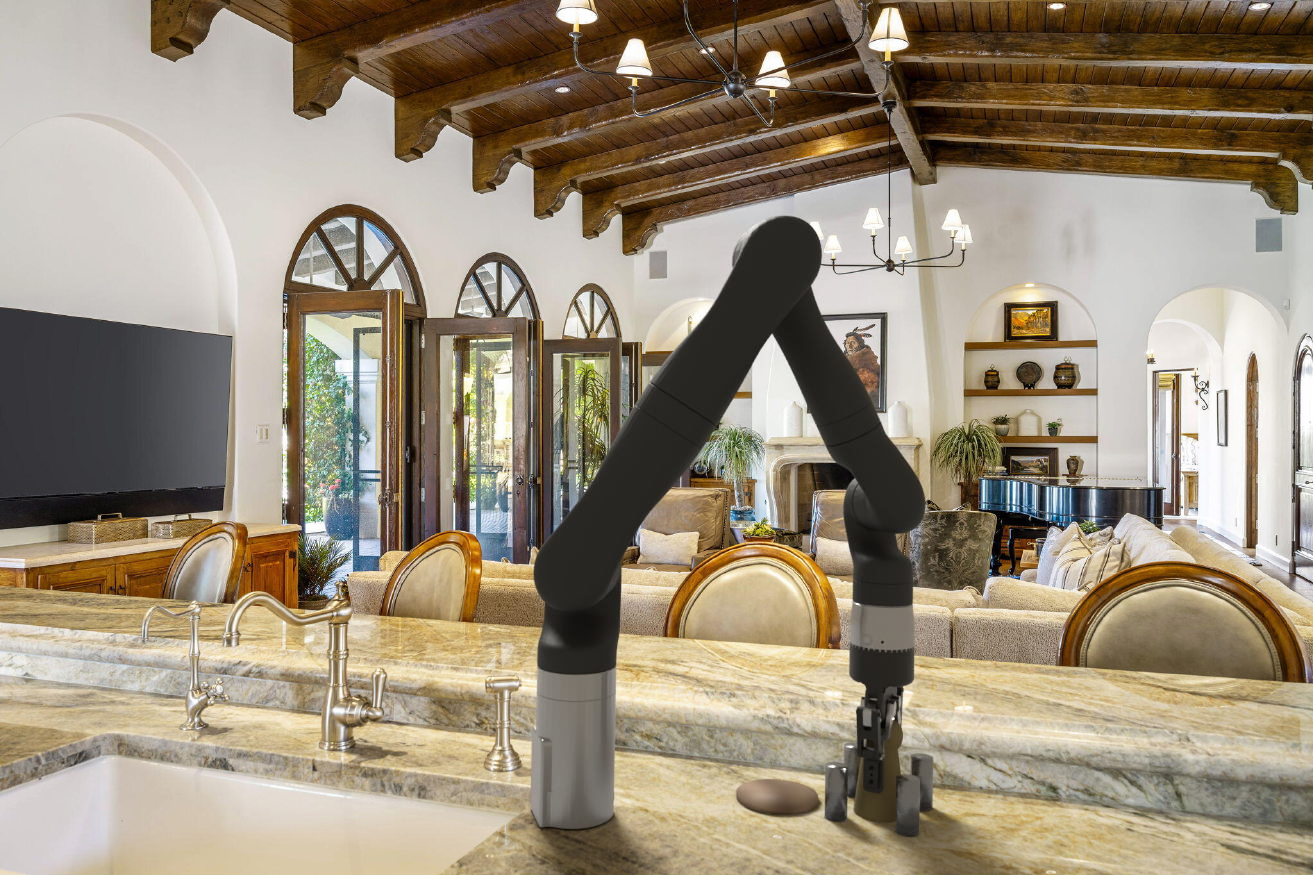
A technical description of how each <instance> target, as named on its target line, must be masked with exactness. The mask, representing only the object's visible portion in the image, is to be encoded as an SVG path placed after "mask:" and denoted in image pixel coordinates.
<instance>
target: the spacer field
mask: <svg viewBox="0 0 1313 875" xmlns="http://www.w3.org/2000/svg"><path fill="white" fill-rule="evenodd" d="M860 761H861V757H858V755H857V742H845V743H844V746H843V762H841V761H829V762H826V763H825V766H824V768H825V769H824V773H825V775H824V819H827V820H828V821H830V822H835V823H841V822H846V821H847V820H848V806H849V805H848V800H849V799H848V798H853V799H855V795H856V788H857V782H858V775H859V768H860ZM933 791H934V757H933V756H932V755H929V754H926V753H919V752H917V753H912V754H911V755H910V774H907V773H901V775H897V776H896V822H895V826H894V828H895V832H896V834H897V835H900V836H903V837H909V838H912V837H918V836H919V835H920V820H921V819H920V816H921V815H920V814H921V813H920V812H930V811H932V810H933V809H934V808H933V806H934V804H933V802H934V801H933V800H934V796H933V794H934V792H933Z"/></svg>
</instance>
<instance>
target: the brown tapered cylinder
mask: <svg viewBox="0 0 1313 875" xmlns="http://www.w3.org/2000/svg"><path fill="white" fill-rule="evenodd" d="M884 730H885V728H883V729H881V732H883V731H884ZM903 740H904V731H903V727H901V726H900V724H899V723H898V722H896V721H895V720H893V722H892V732H891V739H890V740H889V741H887V742H886V747H885V759H884V789H883V791H882V792H881V793H873V792H868V791H865V790H864V788H863V765H864V758H862V757H861V761H860V768H859V775H858V782H857V788H856V795H855V798H854V804H853V809H852V810H853V813H854V814H855V815H857V816H858V817H860V818H862V819H864V820H867V821H871V822H876V823H882V824H883V823H884V824H885V823H888V824H889V823H896V776H897V775H901V774H902V773H901V770H902V769H901V764H900V755H899V754H900V753H899V749H900V748H901V746H902V744H903ZM868 747H869V748H874V741H872V740H869V746H868Z"/></svg>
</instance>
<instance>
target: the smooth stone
mask: <svg viewBox="0 0 1313 875" xmlns="http://www.w3.org/2000/svg"><path fill="white" fill-rule="evenodd" d="M735 797H736V801H737V802H738V803H740V805H742V806H743V807H744V808H747V809H749V810H751V811H754V812H757V813H761V814H766V815H767V814H768V815H777V816H793V815H795V816H796V815H800V814H805V813H808V812H811V811H813V810H814V809H816V808H817V806H818V805H819V794H818V792H817V791H816V790H815V789H813V788H811V787H810V786H808V785H806V784H803V783H801V782H797V781H793V780H788V779H777V778H762V779H754V780H750V781H746V782H744V783H741V784H740V785H739V786H738V787H737V788H736V790H735Z"/></svg>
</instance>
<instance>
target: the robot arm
mask: <svg viewBox="0 0 1313 875" xmlns="http://www.w3.org/2000/svg"><path fill="white" fill-rule="evenodd" d="M822 248H823V247H822V243H821V240H820V238H819V235H818V233H817V232H816V230H815V228H814V227H813V226H812V225H811V224H810V223H809V222H808V221H806V220H804V219H802V218H800V217H796V216H793V215H777V216H771V217H768V218H765V219H763V220H761V221H759V222H757V223H756V224H754V225H752V227H750V228H749V229H747V230H746V231H745V232H744V233H743V234H742V235H741V236H740V238H739V239H738V240H737V241H736V244H735V246H734V249H733V252H732V256H731V266H732V269H731V271H730V273H729V275H728V277H727V279H726V280H725V281H724V282H725V283H724V284H723V286H722V288H721V289H720V291H719V293H718V294H717V297H716V298H715V300H714V302H713V303H712V305H711V307H709V309H708V311H707V312H706V313H705V315H704V316H703V317H702V319H701V320H700V321H699V322H698V323H697V324H696V325H695V327H694V328H692V330H691V331H690V332H689V333H688V334H687V335H686V336H685V337H684V338H683V339H682V341H681V342H680V343H679V344H678V345H677V346H676V347H675V349H674V350H673V351H672V352H671V354H670V355H669V356H668V357H667V358H666V359H665V361H664V362H663V363H662V364H661V366H660V367H659V369H658V370H657V371H656V372H655V374H654V375H653V376H652V378H651V379H650V381H649V383H648V384H647V385H646V387H645V388H644V390H643V392H642V393H641V395H640V396H639V398H638V399H637V401H636V403H635V404H634V406H633V407H632V409H631V410H630V413H629V414H628V416H627V417H626V419H625V421H624V423H623V424H622V426H621V428H620V429H619V431H618V433H617V434H616V437H615V438H614V440H613V442H612V444H611V445H610V447H609V449H608V451H607V453H606V454H605V456H604V459H603V460H602V462H601V465H600V466H599V469H598V471H597V472H596V474H595V476H594V477H593V479H592V481H591V482H590V484H589V485H588V486H587V488H586V490H585V492H584V493H583V494H582V495H581V497H580V498H579V500H578V501H577V502H576V503H575V505H573V507H572V509H571V510H570V511H569V513H568V514H567V515H566V516H565V518H564V519H563V520H562V521H561V522H560V524H559V525H557V527H556V529H555V530H553V532H552V533H551V535H550V536H549V537H548V538H547V539H546V540H545V541H544V543H543V544H542V545H541V547H540V548H539V550H538V552H537V553H536V556H535V560H534V563H533V564H534V565H533V582H534V586H535V589H536V592H537V593H538V595H539V597H540V599H541V600H542V601H543V602H544V612H543V613H544V615H543V622H542V629H541V632H540V636H539V638H538V643H537V651H536V652H537V653H536V654H537V656H536V664H537V666H536V671H537V672H536V708H535V711H536V712H535V714H536V715H535V725H534V726H533V727H532V729H531V753H530V754H531V757H530V759H531V760H530V762H531V763H530V766H531V767H530V772H531V773H530V802H529V803H530V809H531V811H532V814H533V816H534V818H535V820H536V823H537V824H538V827H540V828H546V827H549V828H550V827H551V828H557V829H565V830H566V829H567V830H579V829H580V830H581V829H587V828H593V827H596V826H601V825H602V824H604V823H606V822H608V821H610V819H612V817H613V816H614V806H615V805H614V804H615V802H614V801H615V765H616V764H615V761H616V760H615V757H616V756H615V753H616V752H615V751H616V750H615V749H616V709H617V708H616V705H617V704H616V703H617V701H616V700H617V698H616V697H617V696H616V695H617V654H618V645H619V640H620V631H621V612H622V610H621V608H622V604H621V603H622V583H623V582H622V579H623V578H622V573H623V571H622V569H623V568H622V560H623V558H624V555H625V554H626V552H627V550H628V548H629V546H630V545H631V543H632V541H633V539H634V538H635V536H636V533H637V532H638V531H639V529H640V527H641V526H642V524H643V522H644V521H645V520H646V519H647V517H648V516H649V514H650V513H651V512H652V511H653V509H654V508H655V507H656V506H657V505H658V504H659V503H660V502H661V501H662V500H663V498H664V497H665V496H666V495H667V493H668V492H670V490H671V489H673V487H674V486H675V485H676V483H678V481H679V480H680V479H681V478H682V477H683V475H684V474H685V473H686V472H687V471H688V469H689V468H690V467H691V465H692V464H693V462H694V460H695V459H697V457H698V456H699V454H700V453H701V452H702V450H703V448H704V447H705V445H706V444H707V442H708V441H709V439H710V438H711V436H712V435H713V433H714V431H715V430H716V429H717V426H719V424H720V423H721V420H722V419H723V417H724V415H725V413H726V412H727V410H728V408H729V407H730V404H731V403H732V401H733V400H734V398H735V397H736V395H737V394H738V392H739V390H740V388H741V386H742V385H743V382H744V381H745V379H746V378H747V375H748V374H749V372H750V371H751V368H752V366H753V365H754V362H755V361H756V359H757V357H758V355H759V354H760V352H761V350H762V349H763V347H764V346H765V344H766V343H767V342H768V340H769V339H770V337H771V336H773V337H774V339H775V342H776V343H777V345H778V346H779V348H780V351H781V352H782V354H783V356H784V358H785V360H786V361H787V365H788V366H789V368H790V370H791V373H792V374H793V376H794V379H795V381H796V384H797V386H798V388H799V390H800V392H801V394H802V396H803V397H802V398H803V399H804V401H805V404H806V406H807V408H808V410H809V413H810V415H811V417H812V419H813V421H814V424H815V426H816V428H817V430H818V432H819V435H820V437H821V439H822V441H823V443H824V445H825V448H826V450H827V452H828V454H829V455H830V457H831V459H832V461H834V462H835V463H836V464H837V465H839V466H841V467H843V468H845V469H847V470H848V471H849V473H851V475H852V476H853V478H854V479H852V480H851V482H849V484H848V486H847V488H846V490H845V494H844V498H843V505H842V514H843V523H844V528H845V534H846V538H847V544H848V549H849V553H850V557H851V561H852V566H853V568H852V569H853V571H852V599H851V600H852V601H851V602H852V603H851V604H852V606H851V610H850V616H849V617H850V618H849V661H848V665H849V666H848V674H849V677H850V678H851V680H853V681H854V682H856V683H861V684H863V686H865V691H864V696H861V698H860V705H857V707H856V709H855V714H856V718H855V719H856V720H855V721H856V743H857V755H858V757H862V758H864V765H863V788H864V790H865V791H868V792H873V793H881V792H882V791H883V789H884V759H885V747H886V742H887V741H889V740H890V739H891V732H892V722H893V720H895V721H896V722H898V723H899V724H900V726H901V728H903V727H902V726H903V725H902V723H903V705H904V704H903V702H904V691H905V689H904V687H905V686H909V685H911V684H913V682H914V680H915V650H916V649H915V644H916V642H915V640H916V639H915V638H916V636H915V634H916V633H915V632H916V630H915V629H916V623H915V615H914V613H915V612H914V566H913V563H912V561H911V559H910V558H909V557H908V556H907V555H906V554H905V553H904V552H902V551H901V550H900V547H899V546H898V541H897V535H901V534H907V533H909V532H912V531H913V530H915V529H916V528H918V527H919V525H920V524H921V523H922V520H924V517H925V514H926V513H925V512H926V507H927V504H926V496H925V492H924V488H923V486H922V483H921V482H920V479H919V477H918V476H917V474H916V472H915V471H914V469H913V467H911V465H910V463H909V462H908V460H907V459H906V458H905V456H903V454H902V452H901V451H900V449H899V448H898V447H897V446H896V444H895V443H894V442H893V441H892V440H891V438H889V435H887V433H886V431H885V428H884V426H883V423H882V421H881V419H880V416H879V414H878V412H877V410H876V407H875V405H874V403H873V401H872V398H871V397H870V394H869V392H868V390H867V388H866V386H865V384H864V382H863V380H862V379H861V377H860V375H859V373H858V372H857V370H856V368H855V367H854V366H853V364H852V362H851V361H850V359H849V358H848V356H847V355H846V354H845V353H844V351H843V350H842V348H841V347H840V345H839V344H838V343H837V340H836V338H835V337H834V335H833V334H832V332H831V331H830V329H829V327H828V325H827V323H826V321H825V319H824V317H823V315H822V313H821V310H820V308H819V306H818V303H817V300H816V297H815V294H814V291H813V287H812V285H813V284H814V282H815V281H816V279H817V277H818V275H819V273H820V269H821V266H822V258H823V251H822ZM883 728H885V730H884V731H883V732H881V729H883ZM869 740H872V741H874V748H869V747H868V746H869Z"/></svg>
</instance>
